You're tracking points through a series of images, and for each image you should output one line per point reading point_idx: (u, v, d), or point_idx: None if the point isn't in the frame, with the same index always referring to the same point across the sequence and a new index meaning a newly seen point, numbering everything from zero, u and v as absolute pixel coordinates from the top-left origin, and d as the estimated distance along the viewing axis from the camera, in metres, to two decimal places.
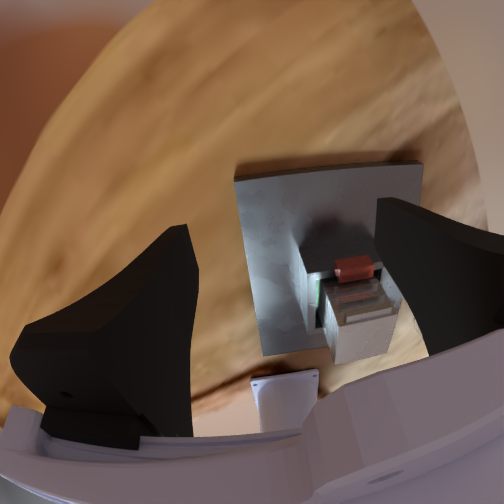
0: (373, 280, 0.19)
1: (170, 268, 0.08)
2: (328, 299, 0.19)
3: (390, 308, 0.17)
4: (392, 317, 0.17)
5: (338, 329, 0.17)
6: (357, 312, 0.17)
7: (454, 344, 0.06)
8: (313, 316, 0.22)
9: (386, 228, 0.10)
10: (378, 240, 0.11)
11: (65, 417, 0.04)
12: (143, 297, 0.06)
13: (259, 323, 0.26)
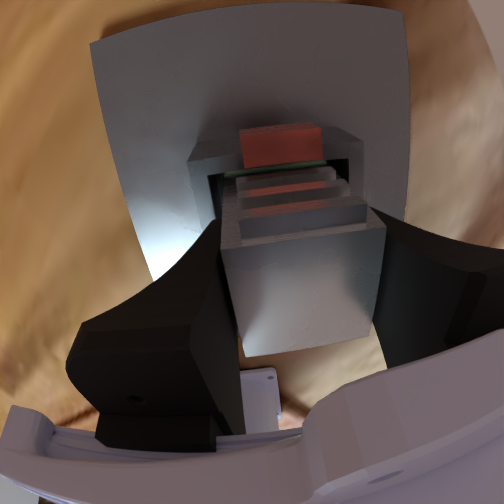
0: (326, 168, 0.09)
1: None
2: None
3: (363, 206, 0.07)
4: (372, 235, 0.07)
5: (222, 258, 0.07)
6: (270, 212, 0.07)
7: (408, 359, 0.06)
8: None
9: None
10: None
11: (127, 424, 0.04)
12: (212, 289, 0.06)
13: None
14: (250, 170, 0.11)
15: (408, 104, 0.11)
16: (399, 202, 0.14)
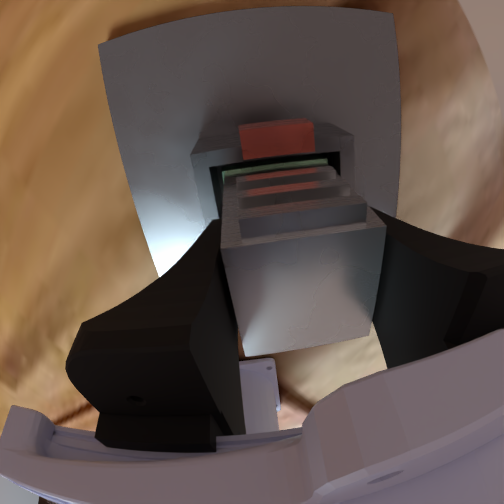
0: (326, 168, 0.09)
1: None
2: None
3: (363, 206, 0.07)
4: (372, 234, 0.07)
5: (222, 257, 0.07)
6: (270, 211, 0.07)
7: (408, 360, 0.06)
8: None
9: None
10: None
11: (127, 424, 0.04)
12: (212, 289, 0.06)
13: (161, 274, 0.17)
14: (250, 170, 0.11)
15: (399, 101, 0.12)
16: (391, 195, 0.15)
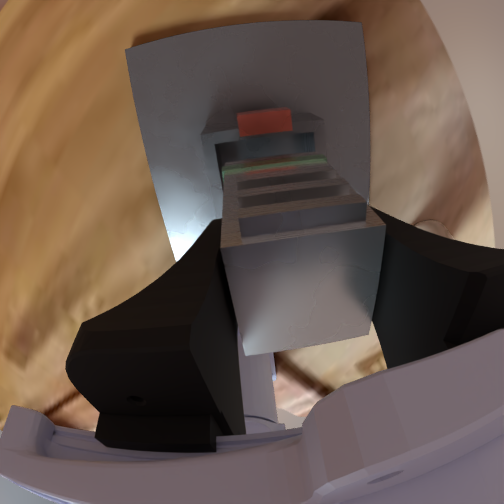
0: (325, 167, 0.09)
1: None
2: None
3: (362, 205, 0.07)
4: (371, 233, 0.07)
5: (222, 256, 0.07)
6: (270, 210, 0.07)
7: (408, 359, 0.06)
8: None
9: None
10: None
11: (127, 424, 0.04)
12: (212, 289, 0.06)
13: (171, 239, 0.20)
14: (250, 169, 0.11)
15: (367, 94, 0.16)
16: (364, 171, 0.18)
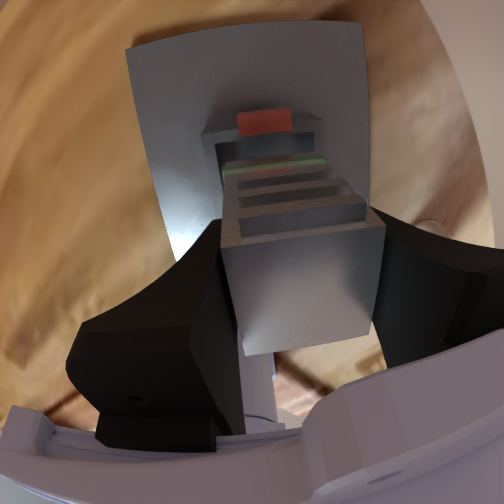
0: (325, 167, 0.09)
1: None
2: None
3: (362, 205, 0.07)
4: (371, 233, 0.07)
5: (222, 256, 0.07)
6: (270, 210, 0.07)
7: (407, 359, 0.06)
8: None
9: None
10: None
11: (127, 424, 0.04)
12: (212, 289, 0.06)
13: (171, 239, 0.20)
14: (250, 169, 0.11)
15: (366, 94, 0.16)
16: (364, 171, 0.18)
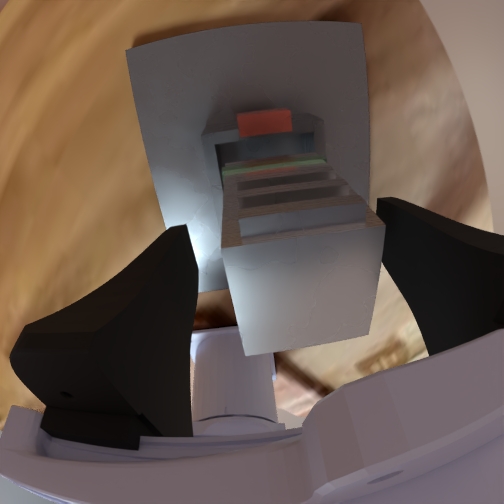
0: (325, 167, 0.09)
1: (170, 268, 0.08)
2: None
3: (362, 205, 0.07)
4: (371, 234, 0.07)
5: None
6: (270, 211, 0.07)
7: (454, 344, 0.06)
8: None
9: (386, 228, 0.10)
10: None
11: (65, 417, 0.04)
12: (143, 297, 0.06)
13: None
14: (250, 170, 0.11)
15: (366, 94, 0.16)
16: (364, 171, 0.18)
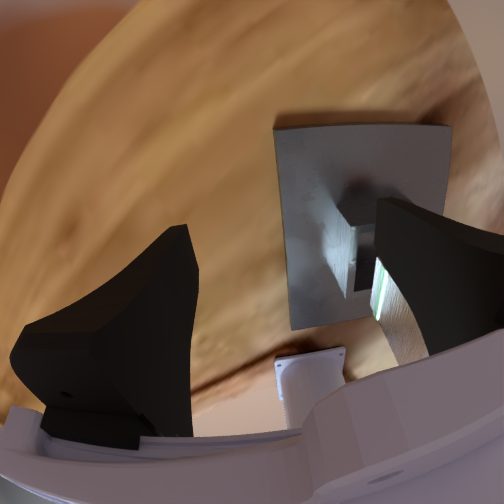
0: None
1: (170, 268, 0.08)
2: (407, 305, 0.14)
3: None
4: None
5: None
6: None
7: (454, 344, 0.06)
8: (353, 277, 0.21)
9: (386, 228, 0.10)
10: (378, 240, 0.11)
11: (65, 417, 0.04)
12: (143, 297, 0.06)
13: (291, 291, 0.25)
14: None
15: (446, 184, 0.20)
16: None
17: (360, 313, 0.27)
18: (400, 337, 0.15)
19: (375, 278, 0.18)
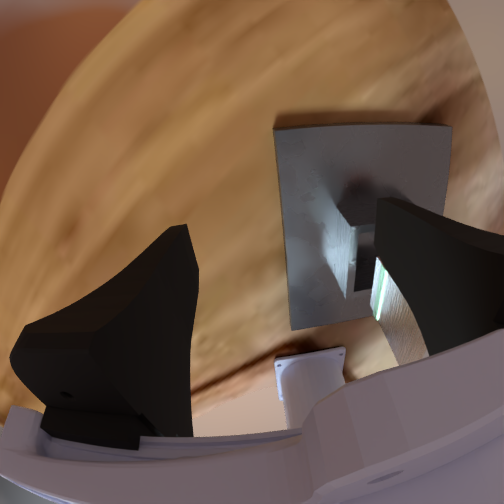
0: None
1: (170, 268, 0.08)
2: (407, 305, 0.14)
3: None
4: None
5: None
6: None
7: (454, 344, 0.06)
8: (353, 277, 0.21)
9: (386, 228, 0.10)
10: (378, 240, 0.11)
11: (65, 417, 0.04)
12: (143, 297, 0.06)
13: (291, 291, 0.25)
14: None
15: (446, 184, 0.20)
16: None
17: (360, 313, 0.27)
18: (400, 337, 0.15)
19: (375, 278, 0.18)
